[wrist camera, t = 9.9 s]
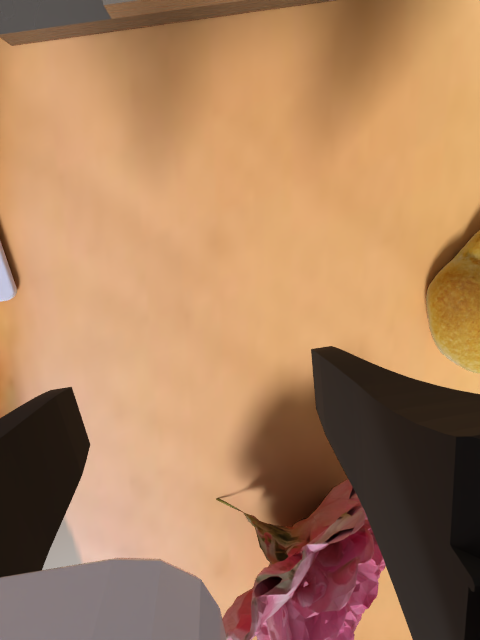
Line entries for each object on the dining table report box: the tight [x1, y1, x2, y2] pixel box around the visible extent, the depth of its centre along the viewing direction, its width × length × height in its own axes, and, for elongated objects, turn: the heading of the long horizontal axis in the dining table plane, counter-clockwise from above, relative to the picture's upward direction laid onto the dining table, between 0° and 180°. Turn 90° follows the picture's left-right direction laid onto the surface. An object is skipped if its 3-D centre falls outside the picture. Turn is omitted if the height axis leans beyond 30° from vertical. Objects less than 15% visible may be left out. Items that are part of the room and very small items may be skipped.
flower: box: [216, 479, 386, 640], centre depth 22 cm, size 11×10×10 cm
